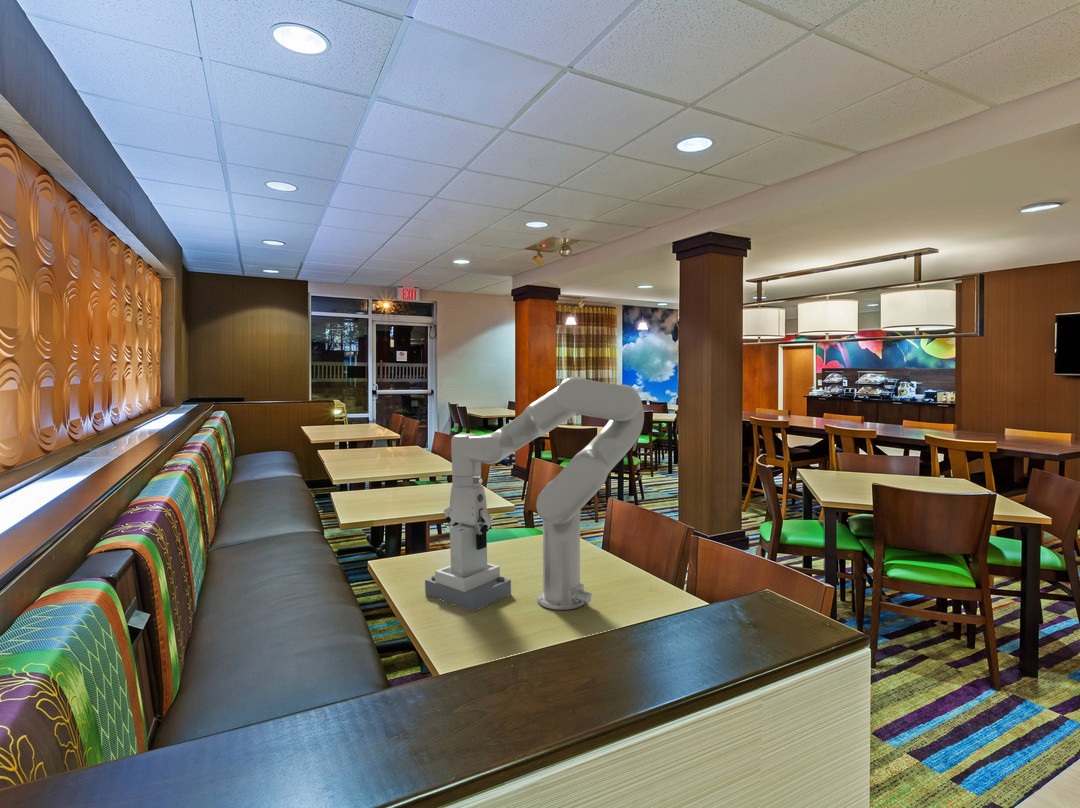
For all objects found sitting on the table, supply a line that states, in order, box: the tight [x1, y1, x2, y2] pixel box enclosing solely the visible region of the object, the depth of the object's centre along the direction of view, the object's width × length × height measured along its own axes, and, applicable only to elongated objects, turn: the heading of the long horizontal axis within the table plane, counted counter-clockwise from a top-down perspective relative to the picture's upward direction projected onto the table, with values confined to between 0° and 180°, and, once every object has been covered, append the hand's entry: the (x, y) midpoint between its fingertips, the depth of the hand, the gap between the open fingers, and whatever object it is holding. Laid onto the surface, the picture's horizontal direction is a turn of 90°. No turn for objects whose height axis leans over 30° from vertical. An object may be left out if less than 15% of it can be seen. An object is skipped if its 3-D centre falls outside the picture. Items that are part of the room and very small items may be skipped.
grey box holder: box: [424, 562, 512, 612], centre depth 149 cm, size 18×14×7 cm
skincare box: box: [449, 524, 488, 578], centre depth 149 cm, size 8×6×15 cm
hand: (468, 545), depth 149 cm, fingers open, 9 cm apart
